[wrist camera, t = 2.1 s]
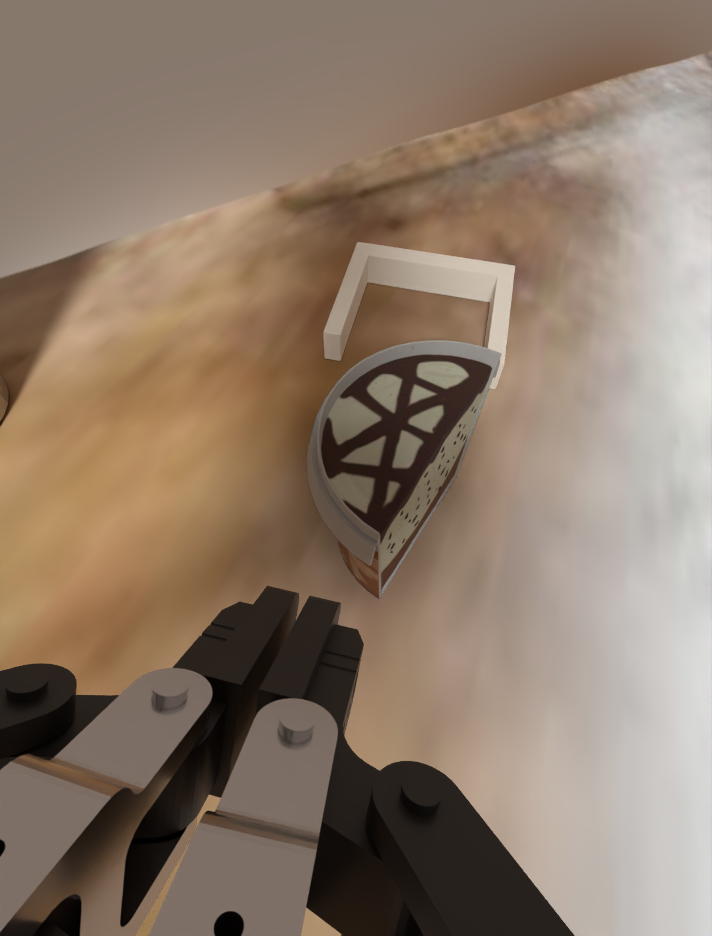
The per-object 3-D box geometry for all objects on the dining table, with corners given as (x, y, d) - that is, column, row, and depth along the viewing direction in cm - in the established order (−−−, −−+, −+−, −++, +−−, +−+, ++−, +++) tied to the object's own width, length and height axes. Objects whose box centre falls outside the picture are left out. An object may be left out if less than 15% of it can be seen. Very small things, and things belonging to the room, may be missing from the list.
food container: (384, 418, 35) (395, 299, 27) (466, 460, 34) (506, 346, 25) (273, 563, 30) (242, 469, 21) (364, 622, 28) (371, 546, 20)
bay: (324, 358, 38) (323, 332, 36) (357, 268, 44) (357, 241, 42) (495, 389, 37) (504, 364, 35) (506, 292, 42) (515, 265, 40)
